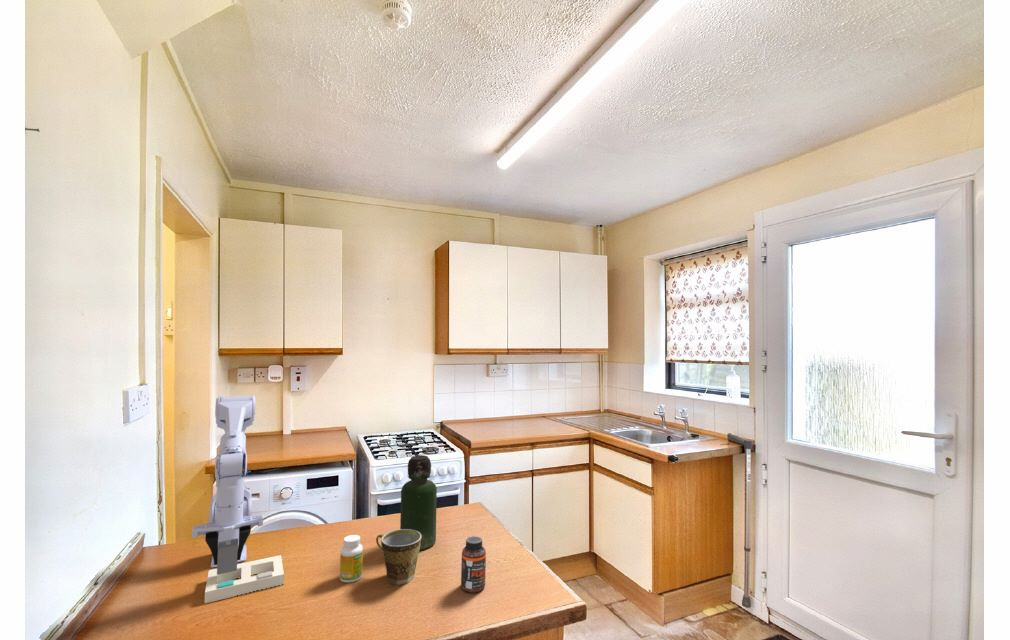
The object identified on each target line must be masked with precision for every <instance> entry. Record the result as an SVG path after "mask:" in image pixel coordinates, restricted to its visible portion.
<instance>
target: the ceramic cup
mask: <svg viewBox="0 0 1010 640" xmlns="http://www.w3.org/2000/svg"><path fill="white" fill-rule="evenodd" d="M379 538H380V542H379ZM375 543H376V545H377V546H378V547H379V549H380V550H381V551H382V555H383V558H384V563H385V564H384V565H385V570H386V571H385V572H386V578H387V582H388V583H390V584H394V585H397V586H399V585H405V584H408V583H410V582H411V581H412V580H414V578H415V574H416V570H417V569H416V568H417V564H418V557H419V553H420V550H419V549H420V544H421V534H420V533H419V532H418V531H415V530H411V529H395V530H391V531H388V532H387V533H385V534H379V535H377V536H376V539H375Z"/></svg>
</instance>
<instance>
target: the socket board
mask: <svg viewBox="0 0 1010 640" xmlns="http://www.w3.org/2000/svg"><path fill="white" fill-rule="evenodd" d="M282 560H283V559H282V555H281V554H279V555H275V556H271V557H266V558H261V559H256V560H250V561H246V562H242V563H237V570H236V571H232V572H227V573H222V574H218V575H217V568H212V569H209V570H208V571H207V572H208V573H207V574H208V575H207V577H206V578H207V579H206V585H205V591H204V604H208V603H213V602H216V601H220V600H225V599H229V598H234V597H237V595H238V596H241V594H242V595H246V594H245V593H247V594H250V593H249V592H251V593H254V592H253V591H255V592H257V591H256V590H259V591H262V590H261V589H263V590H267V589H271V588H270V587H272V588H275V587H274V586H276V587H279V586H278V585H280V586H283V585H282V584H284V583H285V582H284V580H285V579H284V577H285V572H284V566H283V565H284V564H283V561H282ZM272 570H273V571H272ZM267 571H269V572H267ZM263 572H265V573H263ZM259 573H260V574H259ZM253 574H257V575H253ZM251 575H252V576H251ZM239 577H241V578H239ZM236 578H239V579H236ZM232 579H233V580H232ZM228 580H229V581H228ZM223 581H224V582H223ZM219 582H220V583H219ZM266 588H267V589H266Z"/></svg>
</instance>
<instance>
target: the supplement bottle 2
mask: <svg viewBox="0 0 1010 640" xmlns="http://www.w3.org/2000/svg"><path fill="white" fill-rule="evenodd" d="M486 554H487V550H486V549H485V547H484V546H483V538H481V537H480V536H468V537H467V538H466V539H465V546H464V547H463V549H461V567H460V569H461V572H460V586H461V589H462V590H463V591H464V592H467V593H472V594H473V593H479V592H481V591H483V590H484V589H485V586H486V580H487V579H486V577H487V576H486V571H487V569H486V568H487V567H486V566H487V555H486Z"/></svg>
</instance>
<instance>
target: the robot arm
mask: <svg viewBox="0 0 1010 640" xmlns="http://www.w3.org/2000/svg"><path fill="white" fill-rule="evenodd" d="M255 415H256V396H255V395H254V394H251V395H234V396H218V397H217V398H215V411H214V416H215V424H216V427H217V428H219V429H222V430H224V433H223V434H222V436H220V440H219V449H218V457H216V459H215V463H214V464H215V467H214V476H215V488H216V493H215V494H214V495H213V496H212V498H211V499H210V506H209V515H208V522H207V523H205V524H204V523H203V524H200V525H195V526H193V527H192V529H191V531H192V532H191V538H193V539H194V538H198V537H199V536H203V535H205V538H204V540H205V543H206V544H207V546H208V548H209V550H210V552H211V555H212V556H211V563H210V568H212V569H213V568H217V560H218V545H219V542H221V541H226V540H232V539H237V538H238V553H237V563H240V562H242V563H243V562H245V561H246V560H247V545H246V541H247V540H248V539H249V536H250V534H251V532H252V527H255V526H258V527H261V526H262V527H263V526H264V514H261V515H252V511H253V508H252V507H253V506H252V505H253V502H252V501H253V499H252V492H251V490H249V489H248V488H246V487H245V476H246V474H247V472H248V471H247V469H248V454H247V448H246V447H247V446H246V445H247V436H246V434H245V432H246V429H247V428H248V427H251V426H252V425H254V421H255ZM243 472H244V473H243Z"/></svg>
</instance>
